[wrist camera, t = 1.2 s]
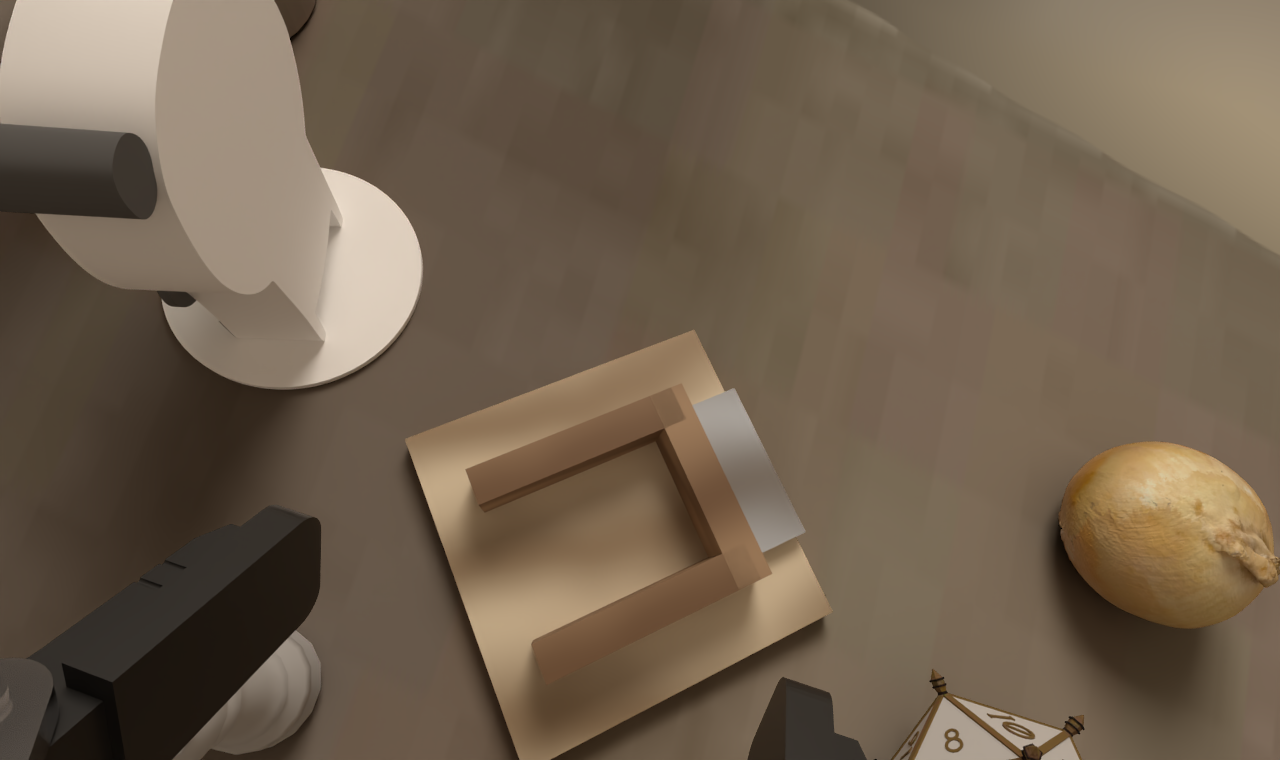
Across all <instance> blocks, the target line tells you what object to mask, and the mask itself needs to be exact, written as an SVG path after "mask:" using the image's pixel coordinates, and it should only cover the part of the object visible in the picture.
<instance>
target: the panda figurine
mask: <svg viewBox="0 0 1280 760" xmlns="http://www.w3.org/2000/svg"><path fill="white" fill-rule="evenodd" d="M0 123H1V124H0V211H2V212H20V213H35V214H36V215H37V217H38V218H39V220H40V221H41V222H42V224H43V225H44V226H45V228H46V229H47V230H48V232H49V233H50V234H51V235H52V237H53V238H54V239H55V240H56V242H57V243H58V244H59V245H60V246H61V247H62V248H63V250H64V251H65V252H66V253H67V254H68V255H69V256H70V257H71V258H72V259H73V260H74V261H75V262H76V263H77V264H78V265H79V266H81V267H82V268H83V269H84V270H85V271H87V272H88V273H89V274H91V275H92V276H93V277H95V278H97V279H98V280H100V281H102V282H104V283H106V284H109V285H111V286H114V287H118V288H123V289H134V290H157V292H158V294H159V295H160V297H161V299H162V304H163V309H164V312H165V316H166V319H167V321H168V323H169V326H170V328H171V330H172V331H173V333H174V335H175V336H176V338H177V339H178V341H179V342H180V343H181V345H182V346H183V347H184V348H185V349H186V350H187V351H188V352H189V353H190V354H191V355H192V356H193V357H194V358H195V359H196V360H198V361H199V362H200V363H202V364H203V365H204V366H206V367H207V368H209V369H211V370H212V371H214V372H215V373H217V374H219V375H221V376H223V377H225V378H227V379H230V380H232V381H235V382H238V383H241V384H244V385H248V386H253V387H258V388H265V389H277V390H288V389H301V388H308V387H314V386H319V385H322V384H326V383H329V382H332V381H335V380H338V379H340V378H343V377H345V376H347V375H349V374H352V373H354V372H356V371H357V370H359V369H361V368H362V367H364V366H366V365H367V364H369V363H370V362H372V361H373V360H374V359H376V358H377V357H378V356H380V355H381V354H382V353H383V352H384V351H385V350H386V349H388V347H389V346H390V345H391V344H392V343H393V342H394V341H395V340H396V339H397V338H398V336H399V335H400V334H401V333H402V331H403V330H404V328H405V327H406V325H407V324H408V322H409V320H410V319H411V316H412V314H413V312H414V310H415V308H416V305H417V302H418V300H419V296H420V292H421V288H422V280H423V262H422V255H421V250H420V246H419V243H418V240H417V237H416V235H415V232H414V230H413V228H412V226H411V224H410V222H409V220H408V219H407V217H406V216H405V214H404V213H403V212H402V210H401V209H400V208H399V207H398V206H397V205H396V203H395V202H394V201H393V200H391V199H390V198H389V197H388V196H387V195H386V194H385V193H383V192H382V191H380V190H379V189H378V188H376V187H375V186H373V185H371V184H369V183H368V182H366V181H364V180H362V179H359V178H357V177H355V176H352V175H349V174H346V173H343V172H339V171H335V170H331V169H325V168H320V166H319V164H318V162H317V160H316V157H315V155H314V153H313V151H312V149H311V146H310V144H309V142H308V140H307V137H306V134H305V121H304V110H303V102H302V94H301V88H300V82H299V76H298V71H297V66H296V62H295V57H294V53H293V49H292V45H291V41H290V37H289V34H288V31H287V28H286V25H285V23H284V20H283V18H282V15H281V13H280V11H279V9H278V7H277V5H276V3H275V1H274V0H17V1H16V4H15V7H14V10H13V13H12V16H11V20H10V24H9V27H8V31H7V35H6V40H5V44H4V49H3V54H2V60H1V66H0Z"/></svg>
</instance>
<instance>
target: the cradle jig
mask: <svg viewBox="0 0 1280 760" xmlns="http://www.w3.org/2000/svg"><path fill="white" fill-rule="evenodd" d="M405 441H406V444H407V446H408V449H409V452H410V455H411V458H412V460H413V463H414V466H415V469H416V472H417V474H418V477H419V480H420V483H421V486H422V488H423V491H424V494H425V497H426V500H427V502H428V505H429V508H430V511H431V514H432V516H433V519H434V522H435V525H436V528H437V530H438V533H439V536H440V539H441V542H442V544H443V547H444V550H445V553H446V556H447V558H448V561H449V564H450V567H451V570H452V572H453V575H454V578H455V581H456V584H457V586H458V589H459V592H460V595H461V598H462V600H463V603H464V606H465V609H466V612H467V614H468V617H469V620H470V623H471V626H472V628H473V631H474V634H475V637H476V639H477V642H478V645H479V648H480V651H481V653H482V656H483V659H484V662H485V665H486V667H487V670H488V673H489V676H490V679H491V681H492V684H493V687H494V690H495V693H496V695H497V698H498V701H499V704H500V707H501V709H502V712H503V715H504V718H505V721H506V723H507V726H508V729H509V732H510V735H511V737H512V740H513V743H514V746H515V749H516V751H517V754H518V757H519V760H551V759H552V758H554V757H556V756H558V755H560V754H562V753H564V752H566V751H568V750H570V749H572V748H573V747H575V746H577V745H579V744H581V743H583V742H585V741H587V740H589V739H591V738H593V737H595V736H596V735H598V734H600V733H602V732H604V731H606V730H608V729H610V728H612V727H614V726H616V725H617V724H619V723H621V722H623V721H625V720H627V719H629V718H631V717H633V716H635V715H637V714H639V713H640V712H642V711H644V710H646V709H648V708H650V707H652V706H654V705H656V704H658V703H660V702H661V701H663V700H665V699H667V698H669V697H671V696H673V695H675V694H677V693H679V692H681V691H683V690H684V689H686V688H688V687H690V686H692V685H694V684H696V683H698V682H700V681H702V680H704V679H705V678H707V677H709V676H711V675H713V674H715V673H717V672H719V671H721V670H723V669H725V668H727V667H728V666H730V665H732V664H734V663H736V662H738V661H740V660H742V659H744V658H746V657H748V656H749V655H751V654H753V653H755V652H757V651H759V650H761V649H763V648H765V647H767V646H769V645H771V644H772V643H774V642H776V641H778V640H780V639H782V638H784V637H786V636H788V635H790V634H792V633H793V632H795V631H797V630H799V629H801V628H803V627H805V626H807V625H809V624H811V623H813V622H815V621H816V620H818V619H820V618H822V617H824V616H826V615H828V614H830V613H832V612H833V611H832V609H831V607H830V605H829V603H828V601H827V599H826V597H825V595H824V593H823V591H822V589H821V587H820V585H819V583H818V581H817V579H816V577H815V575H814V573H813V571H812V569H811V567H810V565H809V562H808V560H807V558H806V556H805V554H804V552H803V550H802V548H801V546H800V544H799V542H798V540H797V538H796V536H798V535H800V534H803V533H805V530H804V528H803V526H802V524H801V522H800V520H799V518H798V516H797V513H796V511H795V509H794V507H793V505H792V503H791V501H790V499H789V497H788V495H787V493H786V491H785V489H784V487H783V485H782V483H781V481H780V479H779V477H778V475H777V473H776V471H775V469H774V467H773V465H772V463H771V461H770V459H769V457H768V455H767V453H766V451H765V449H764V447H763V445H762V443H761V441H760V439H759V437H758V435H757V433H756V431H755V429H754V427H753V425H752V423H751V421H750V419H749V417H748V415H747V413H746V411H745V409H744V407H743V405H742V403H741V401H740V399H739V396H738V394H737V392H736V390H735V388H733V389H731V390H728V391H726V392H725V391H724V389H723V387H722V385H721V383H720V381H719V379H718V377H717V375H716V373H715V371H714V369H713V367H712V365H711V363H710V361H709V359H708V357H707V355H706V353H705V351H704V349H703V347H702V345H701V343H700V341H699V339H698V336H697V334H696V332H695V330H692V331H690V332H687V333H684V334H682V335H679V336H676V337H674V338H671V339H668V340H666V341H663V342H660V343H658V344H655V345H652V346H650V347H647V348H645V349H642V350H639V351H637V352H634V353H631V354H629V355H626V356H623V357H621V358H618V359H615V360H613V361H610V362H608V363H605V364H602V365H600V366H597V367H594V368H592V369H589V370H586V371H584V372H581V373H578V374H576V375H573V376H571V377H568V378H565V379H563V380H560V381H557V382H555V383H552V384H549V385H547V386H544V387H541V388H539V389H536V390H534V391H531V392H528V393H526V394H523V395H520V396H518V397H515V398H512V399H510V400H507V401H504V402H502V403H499V404H496V405H494V406H491V407H489V408H486V409H483V410H481V411H478V412H475V413H473V414H470V415H467V416H465V417H462V418H459V419H457V420H454V421H452V422H449V423H446V424H444V425H441V426H438V427H436V428H433V429H430V430H428V431H425V432H422V433H420V434H417V435H415V436H412V437H409V438H407V439H405Z"/></svg>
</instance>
